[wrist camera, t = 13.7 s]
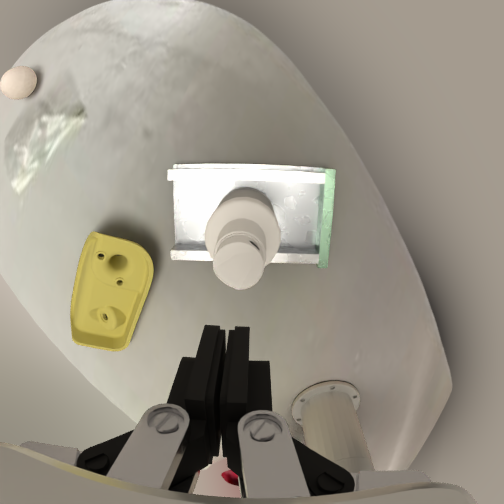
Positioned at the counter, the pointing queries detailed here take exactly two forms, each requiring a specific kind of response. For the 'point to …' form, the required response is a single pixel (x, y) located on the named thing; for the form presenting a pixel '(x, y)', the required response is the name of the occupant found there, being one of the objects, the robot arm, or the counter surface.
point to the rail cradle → (277, 191)
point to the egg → (18, 82)
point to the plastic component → (109, 291)
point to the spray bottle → (242, 237)
